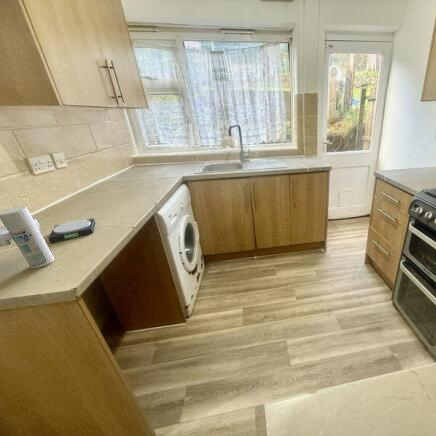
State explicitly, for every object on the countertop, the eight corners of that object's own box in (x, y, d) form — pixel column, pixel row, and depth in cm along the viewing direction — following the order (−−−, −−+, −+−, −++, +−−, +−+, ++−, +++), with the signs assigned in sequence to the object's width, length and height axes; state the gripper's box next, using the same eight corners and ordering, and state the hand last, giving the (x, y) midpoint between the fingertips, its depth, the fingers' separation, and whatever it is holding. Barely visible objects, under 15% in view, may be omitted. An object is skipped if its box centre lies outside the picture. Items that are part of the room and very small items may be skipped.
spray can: (24, 269, 82) (-10, 215, 73) (39, 258, 88) (9, 207, 79) (46, 266, 83) (15, 213, 74) (59, 256, 88) (31, 205, 80)
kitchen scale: (50, 243, 98) (46, 236, 97) (57, 230, 109) (54, 224, 108) (93, 234, 105) (90, 227, 104) (95, 222, 116) (93, 216, 115)
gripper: (22, 230, 92) (56, 230, 91) (-51, 260, 73) (-8, 260, 72) (14, 214, 89) (49, 214, 89) (-63, 242, 71) (-19, 242, 70)
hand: (23, 235), depth 80 cm, fingers open, 8 cm apart
